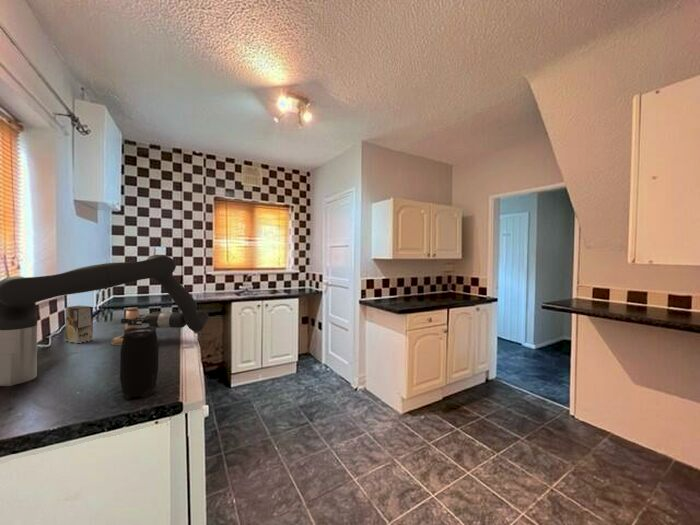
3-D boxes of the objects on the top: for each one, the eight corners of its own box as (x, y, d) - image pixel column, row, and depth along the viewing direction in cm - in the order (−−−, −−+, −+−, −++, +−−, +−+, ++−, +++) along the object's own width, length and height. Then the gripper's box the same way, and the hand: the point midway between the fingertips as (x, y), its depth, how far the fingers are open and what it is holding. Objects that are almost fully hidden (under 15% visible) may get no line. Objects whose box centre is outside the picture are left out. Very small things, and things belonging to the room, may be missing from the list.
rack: (133, 345, 139) (134, 339, 139) (111, 344, 138) (111, 339, 138) (150, 338, 151) (150, 333, 151) (129, 337, 150) (129, 332, 150)
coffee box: (93, 340, 144) (94, 306, 144) (78, 344, 138) (78, 308, 138) (79, 338, 147) (80, 305, 147) (64, 342, 141) (64, 307, 141)
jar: (133, 341, 142) (134, 309, 142) (122, 341, 142) (123, 308, 142) (140, 339, 147) (141, 307, 147) (129, 338, 147) (130, 307, 147)
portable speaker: (114, 396, 89) (115, 329, 89) (148, 385, 97) (149, 324, 97) (129, 404, 85) (130, 334, 85) (163, 392, 93) (164, 327, 93)
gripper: (171, 309, 152) (137, 308, 151) (154, 314, 138) (116, 314, 137) (171, 324, 152) (137, 323, 151) (153, 331, 138) (116, 330, 137)
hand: (127, 319), depth 144 cm, fingers open, 8 cm apart
